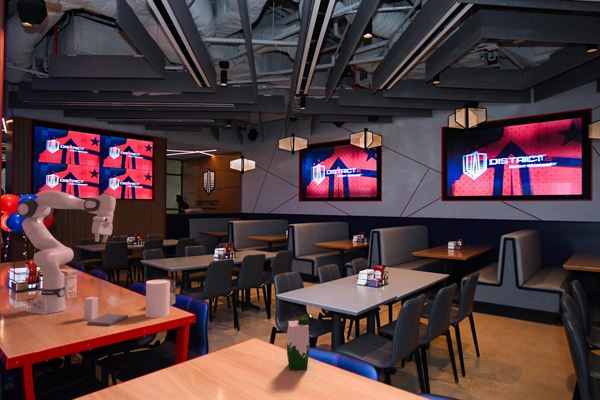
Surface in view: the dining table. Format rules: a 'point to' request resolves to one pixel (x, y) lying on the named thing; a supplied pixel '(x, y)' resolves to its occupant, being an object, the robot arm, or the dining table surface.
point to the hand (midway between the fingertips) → (100, 241)
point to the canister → (157, 298)
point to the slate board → (107, 319)
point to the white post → (90, 308)
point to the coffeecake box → (70, 283)
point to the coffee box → (172, 292)
